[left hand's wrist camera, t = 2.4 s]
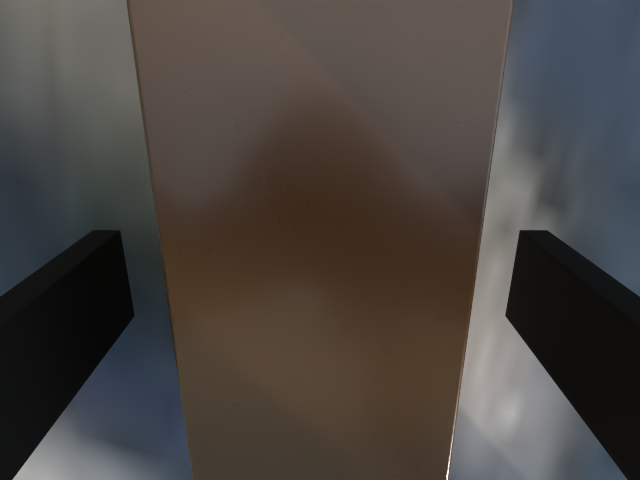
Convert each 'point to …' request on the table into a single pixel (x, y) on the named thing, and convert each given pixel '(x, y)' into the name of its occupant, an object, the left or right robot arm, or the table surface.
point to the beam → (320, 223)
